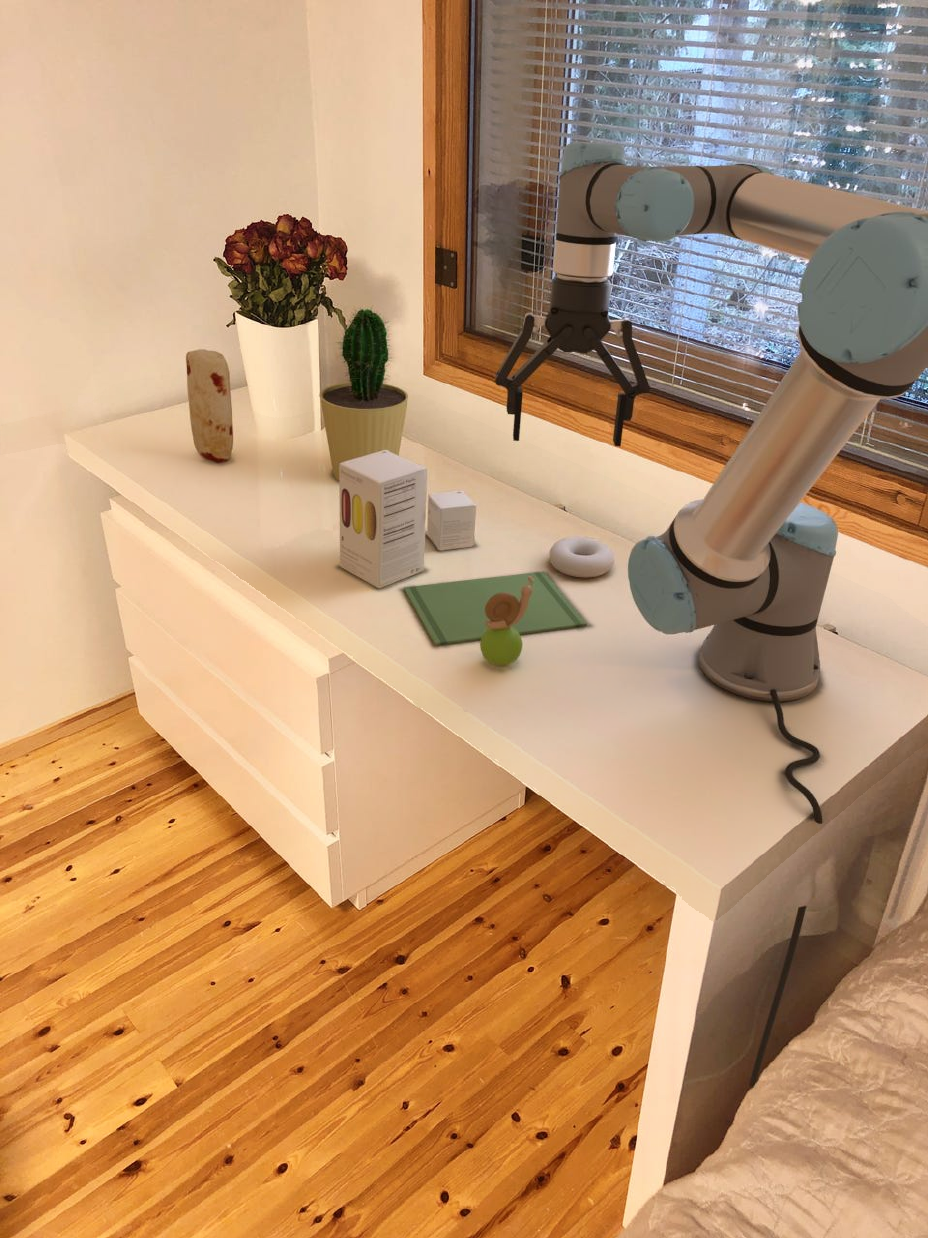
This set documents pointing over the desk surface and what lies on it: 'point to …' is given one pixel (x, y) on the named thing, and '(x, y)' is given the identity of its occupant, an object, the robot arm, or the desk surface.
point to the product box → (451, 520)
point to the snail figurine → (504, 626)
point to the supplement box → (382, 517)
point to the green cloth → (462, 605)
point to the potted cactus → (363, 396)
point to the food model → (210, 404)
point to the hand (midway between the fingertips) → (566, 440)
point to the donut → (581, 557)
